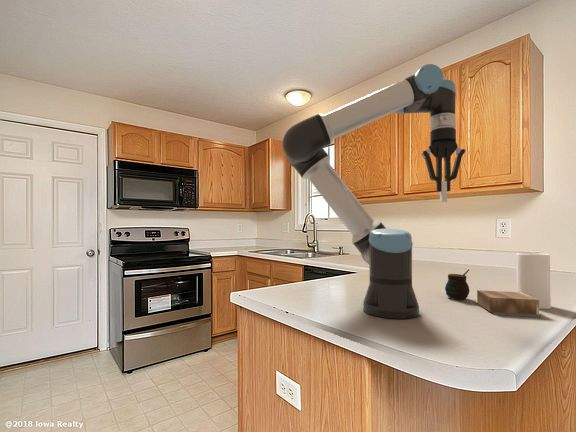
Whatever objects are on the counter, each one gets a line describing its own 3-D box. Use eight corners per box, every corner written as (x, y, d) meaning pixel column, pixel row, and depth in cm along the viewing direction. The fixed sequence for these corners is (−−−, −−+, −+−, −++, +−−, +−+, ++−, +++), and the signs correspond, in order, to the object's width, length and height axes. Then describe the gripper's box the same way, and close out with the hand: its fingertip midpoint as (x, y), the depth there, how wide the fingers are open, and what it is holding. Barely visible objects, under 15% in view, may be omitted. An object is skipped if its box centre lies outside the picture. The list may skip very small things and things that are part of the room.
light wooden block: (489, 297, 89) (538, 299, 87) (477, 290, 99) (520, 292, 96) (490, 311, 89) (539, 314, 87) (477, 303, 99) (521, 305, 96)
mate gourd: (440, 296, 110) (440, 267, 110) (460, 296, 111) (460, 267, 111) (453, 301, 103) (453, 270, 103) (475, 301, 104) (475, 270, 104)
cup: (543, 303, 101) (542, 253, 101) (556, 309, 93) (555, 255, 93) (513, 301, 103) (512, 252, 104) (522, 307, 96) (521, 254, 96)
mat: (495, 314, 88) (495, 313, 88) (478, 303, 100) (478, 302, 100) (540, 317, 85) (540, 316, 85) (517, 305, 98) (517, 304, 98)
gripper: (423, 127, 101) (424, 201, 101) (468, 124, 98) (469, 200, 98) (419, 134, 109) (419, 202, 108) (461, 131, 106) (461, 202, 105)
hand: (443, 201), depth 103 cm, fingers closed
